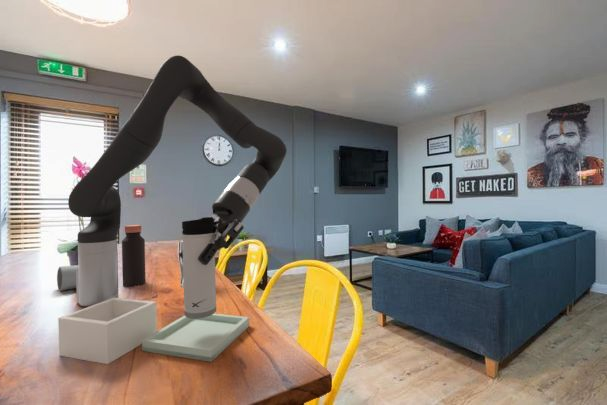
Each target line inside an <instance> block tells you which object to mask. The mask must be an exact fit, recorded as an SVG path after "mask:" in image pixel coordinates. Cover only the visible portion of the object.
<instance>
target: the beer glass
mask: <svg viewBox="0 0 607 405" xmlns="http://www.w3.org/2000/svg"><path fill="white" fill-rule="evenodd" d="M177 242H178V243H177V245H178V246H177V257H178V258H177V260H178V263H179V271H180V281H179V286H180V287H181V288H184V281H183V259H182V258H181V257H180V256H179V254H180V253H181V251H182V250H183V248H182V239H179V240H178V241H177Z"/></svg>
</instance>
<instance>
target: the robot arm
mask: <svg viewBox="0 0 607 405" xmlns="http://www.w3.org/2000/svg"><path fill="white" fill-rule="evenodd" d="M179 98H181V99H185V100H186V101H188V102H189V103H191V104H193V105H195V106H196V107H197V108H199V109H200V110H202V111H204V113H206V115H207V116H209V117H210V118H211V120H212V121H213V122H214V123H215V124H216V125H217V126H218V127H219V128H220V129H221V130H222V131H223V132H224V133H225V134H226V136H228V138H230V139H231V140H232V141H233V142H235V143H236V144H237V145H238V146H239V147H241V148H243V149H250V148H251V147H254V148H255V149H257V153H256V156H255V158H254V159H253V161H252V162H251V163H248V164H246V165H245V166H244V167H243V168H242V169H241V170H240V171H239V173H238V174H237V175H236V177H235V178H234V179H233V180H231V182H229V184H227V186H226V187H225V188H224V190H223V191H222V192H221V193H220V194H219V196H218V197H217V198H216V200H215V201H214V202H213V203H212V205H211V209H212V213H211V215H210V216H209V217H212V218H214V228H213V232H212V233H213V235H212V238H211V241H210V243H211V244H208V245H207V246H206V248H205V249H204V250H203V252H202V253H201V254H200V256H199V257H198V261H200V262H201V263H202V264H203V265H207V264H208V263H209V261H210V260H211V259H212V258H213V256H214V255H215V256H216V253H217V252H218V251H221V250H222V249H223V248H224V249H225V250H226V249H227V250H228V248H230V246H231V245H232V243H233V242H234V241H235V240H236V239H237V237H238V236H239V235H240V234H241V232H242V231H243V230H244V228H245V227H244V225H243V224H242V223H243V221H244V219H245V218H246V217H247V215H248V214H249V212H250V211H251V210H252V208H253V207H254V205H255V204H256V202H257V200H258V198H259V196H260V195H261V193H262V192H263V191H264V189H265V188H266V186H267V184H268V183H269V181H271V180H272V179H273V178H274V176H275V175H276V174H277V173H278V171H279V170H280V168H281V165H282V164H283V161H284V160H285V157H286V155H287V146H286V144H285V142H284V140H282V139H281V138H280V137H279V136H277V135H275V134H274V133H272V132H270V131H269V130H266V129H265V128H262V127H261V126H258V125H256V124H255V122H253V121H252V120H251V119H250V118H249V117H248V116H246V115H245V114H244V113H243V112H242V111H240V110H239V108H237V107H235V106H234V105H233V104H231V103H230V102H228V101H227V100H225V98H223V97H222V96H221V95H220V94H219V93H218V92H217V91H216V90H215V89H214V87H213V86H212V85H211V83H210V82H209V81H208V79H207V78H206V77H205V76H204V75H203V73H202V71H201V70H199V68H198V67H197V66H195V65H194V64H193V63H192V62H191V61H190V60H189V59H188V58H186V57H185V56H183V55H177V54H175V55H173V56H170V57H169V58H167V59H166V60H165V61H164V62H163V63H162V64H161V66H160V67H159V69H158V71H157V72H156V74H155V76H154V78H153V79H152V81H151V83H150V85H149V87H148V89H147V90H146V92H145V94H144V96H143V97H142V98H141V100H140V101H139V103H138V105H137V106H136V107H135V109H134V111H133V112H132V113H131V114H130V116H129V117H128V119H127V120H126V121H125V123H124V124H123V125H122V126H121V128H120V129H119V131H118V132H117V134H116V135H115V136H114V138H113V140H112V141H111V142H110V144H109V146H108V147H107V148H106V149H105V151H104V152H103V153H102V155H101V156H100V158H99V159H98V160H97V161H96V162H95V164H94V165H93V166H92V167H91V169H89V171H87V173H86V174H85V175H84V177H82V178H81V180H80V181H78V183H77V184H76V185H75V186H74V187H73V188H72V190H71V192H70V194H69V197H68V200H67V201H68V203H67V205H68V209H69V210H70V212H71V213H72V214H73V215H74V216H76V217H80V218H90V221H89V223H88V225H87V226H85V227H84V228H83V229H81V230H80V231H78V233H77V254H78V255H77V260H78V262H77V265H78V269H77V270H76V288H75V289H76V304H79V306H81V307H90V306H92V305H95V304H98V303H100V302H103V301H106V300H109V299H111V298H120V297H119V296H120V295H119V263H118V262H119V260H118V234H119V232H120V229H121V217H122V216H121V215H122V214H121V213H122V212H121V211H122V208H121V207H122V201H121V195H120V194H119V191H118V190H117V188H115V187H114V185H115V184H116V183H117V182H118V181H119V180H120V179H121V178H123V177H124V176H126V175H127V174H129V173H130V172H132V171H133V170H135V169H136V168H137V167H140V166H141V165H142V164H143V163H144V162H146V161H147V159H149V157H150V156H151V155H152V153H153V151H155V149H156V147H157V146H158V145H159V143H160V142H161V140H162V136H163V131H164V125H165V120H166V116H167V114H168V112H169V110H170V108H171V107H172V106H173V104H174V103H175V101H176V100H177V99H179ZM202 218H203V217H202V216H201V217H199V218H198V219H197V220H199V219H202ZM228 237H229V238H228ZM227 238H228V239H227ZM179 256H180V257H181V258H182V259H183V250H182V251H181V253H180V254H179Z"/></svg>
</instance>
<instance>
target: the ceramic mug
mask: <svg viewBox="0 0 607 405" xmlns="http://www.w3.org/2000/svg"><path fill="white" fill-rule="evenodd" d="M77 269H78V264H77V265H76V264H74V265H65V266H64V265H63V266H58V269H57V273H56V281H57V284H56V285H57V290H58V291H59V292H63V291H67V290H73V289H77V288H76V270H77Z"/></svg>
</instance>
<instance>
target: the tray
mask: <svg viewBox="0 0 607 405" xmlns="http://www.w3.org/2000/svg"><path fill="white" fill-rule="evenodd" d="M249 327H250V317H249V316H241V315H231V314H222V313H216V312H215V313H214V314H212V315H211V316H208V317H205V318H199V319H191V318H188V317H186V316H185V314H183V316H181V317H179V318H177V319H176V320H174V321H173V322H171V323H169V324H168V325H166V326H164V327H163V328H161V329H159V330H157V332H155V333H154V334H152V335H150V336H149V337H147V338H145V339H144V340H142V344H141V350H142V352H146V353H147V352H148V353H153V354H159V355H160V354H161V355H167V356H172V357H180V358H184V359H190V360H191V359H193V360H198V361H204V362H210V363H212V362H213V361H215V359H216V358H217V357H219V356H220V354H222V353H223V352H224V350H226V348H228V347H229V346H230V345H231V344H232V343H233V342H234V341H236V339H238V338H239V337H240V336H241V335H242V334H243V333H244V332H245V331H246V330H247V329H248V328H249Z"/></svg>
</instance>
